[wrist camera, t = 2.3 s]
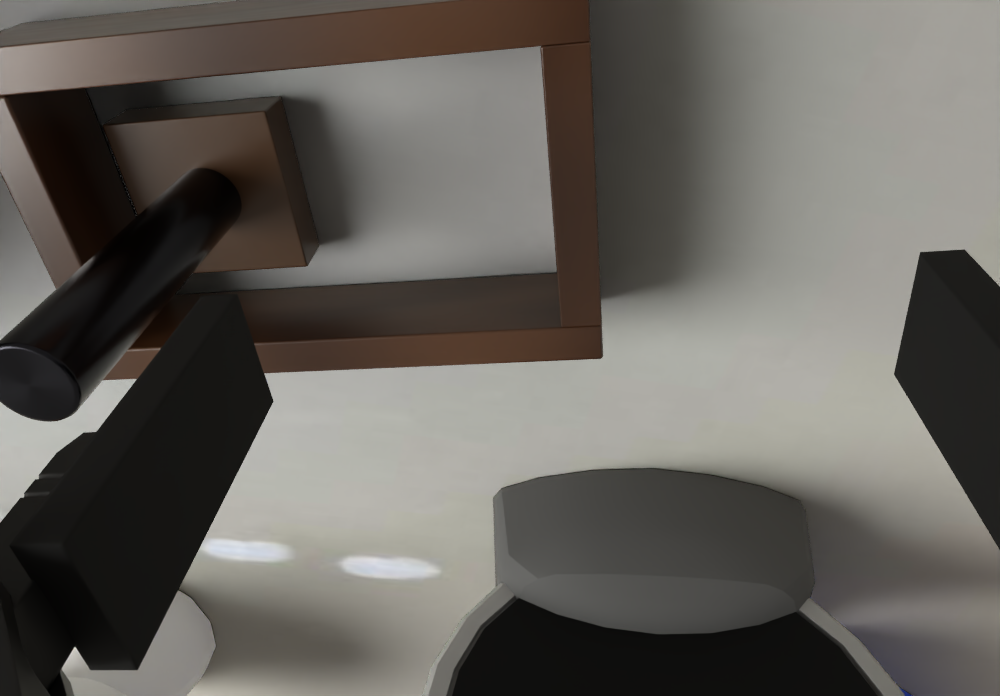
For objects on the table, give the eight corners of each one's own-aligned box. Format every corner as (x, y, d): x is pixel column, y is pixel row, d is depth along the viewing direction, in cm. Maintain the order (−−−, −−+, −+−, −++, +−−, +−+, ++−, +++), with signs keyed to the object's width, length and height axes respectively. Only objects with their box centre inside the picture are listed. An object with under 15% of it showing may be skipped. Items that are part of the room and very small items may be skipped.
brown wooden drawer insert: (586, -36, 21) (588, -14, 18) (599, 300, 26) (603, 359, 24) (21, 23, 23) (-60, 52, 20) (147, 324, 28) (99, 381, 25)
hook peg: (281, 95, 23) (95, 270, 14) (320, 245, 26) (185, 472, 17) (125, 109, 24) (-149, 284, 15) (179, 254, 27) (-23, 478, 18)
